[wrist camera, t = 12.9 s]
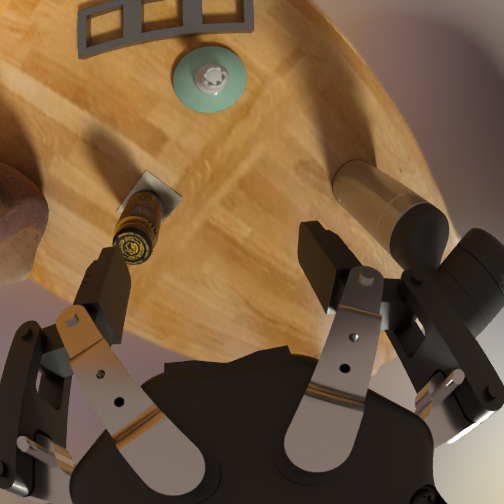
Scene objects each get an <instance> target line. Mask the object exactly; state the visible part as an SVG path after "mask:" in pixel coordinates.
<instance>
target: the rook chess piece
mask: <svg viewBox="0 0 504 504" xmlns="http://www.w3.org/2000/svg"><path fill="white" fill-rule="evenodd" d="M228 79H229V73H228V71H227V69H226V68H225V67H223V66H222V65H219V64H207V65H205V66H203V67H201V68H200V69H199V70H198V71H197V72H196V74H195V77H194V81H195V85H196V87H197V88H198V90H200V91H201V92H203V93H206V94H215V93H217V92H219V91H221V90H222V89H223V88H224V87H225V86H226V84H227V82H228Z"/></svg>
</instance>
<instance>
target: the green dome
mask: <svg viewBox="0 0 504 504" xmlns="http://www.w3.org/2000/svg"><path fill="white" fill-rule="evenodd" d="M207 64H219V65H222V66H223V67H225V68H226V69H227V71H228V73H229V79H228V82H227V84H226V86H225V87H224V88H223V89H222V90H221V91H219V92H217V93H215V94H206V93H203V92H201V91H200V90H198V88H197V87H196V85H195V81H194V77H195V74H196V72H197V71H198V70H199V69H200V68H201V67H203V66H205V65H207ZM246 80H247V75H246V70H245V67H244V64H243V63H242V61H241V60H240V58H239V57H238V56H237V55H236V54H234V53H233V52H232V51H230V50H228V49H226V48H223V47H219V46H205V47H200V48H197V49H195V50H193V51H191V52H189V53H188V54H187V55H185V56H184V57H183V58H182V59H181V61H180V62H179V63H178V65H177V67H176V69H175V72H174V76H173V86H174V90H175V93H176V95H177V97H178V98H179V100H180V101H181V102H182V103H183V104H184V105H186V106H187V107H189V108H190V109H192V110H195V111H198V112H204V113H213V112H218V111H221V110H224V109H226V108H228V107H230V106H231V105H233V104H234V103H235V102H236V101H237V100H238V99H239V98H240V96H241V95H242V93H243V91H244V89H245V86H246Z"/></svg>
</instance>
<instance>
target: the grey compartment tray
mask: <svg viewBox="0 0 504 504" xmlns="http://www.w3.org/2000/svg"><path fill="white" fill-rule="evenodd" d="M157 1H163V0H112V1H109V2H106V3H102V4H99V5H96V6H93V7H90V8H87V9H84V10H82V11H79V12H78V58H79V59H87V58H90V57H93V56H96V55H99V54H102V53H106V52H109V51H113V50H117V49H121V48H125V47H129V46H133V45H138V44H143V43H147V42H153V41H158V40H164V39H171V38H178V37H186V36H195V35H207V34H223V33H252V32H253V31H254V9H253V0H241V6H242V23H213V24H202V0H183V26H181V27H173V28H166V29H160V30H155V31H149V32H144V4H146V3H151V2H157ZM120 9H123V37H122V38H118V39H115V40H111V41H107V42H104V43H101V44H97V45H94V46H91V18H93V17H96V16H99V15H103V14H106V13H109V12H113V11H116V10H120Z"/></svg>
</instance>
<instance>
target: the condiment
mask: <svg viewBox="0 0 504 504" xmlns="http://www.w3.org/2000/svg"><path fill="white" fill-rule="evenodd" d="M182 199H183V198H182V197H181V196H179V195H178V194H177V193H176V192H174V191H173V190H172V189H171V188H169V187H168V186H167V185H165V184H164V183H163V182H162V181H160V180H159V179H157V178H156V177H155V176H153V175H152V174H150V173H149V172H148V171H146V172H145V173H144V174H143V176H142V177H141V178H140V180H139V181H138V182H137V184H136V185H135V186H134V188H133V189H132V190H131V192H130V193H129V194H128V196H127V197H126V199H125V200H124V201H123V203H122V204H121V206H120V207H119V209H118V210H117V212H119V213H120V214H122V215H121V216H120V219H119V220H118V222H117V225H116V227H115V233H114V238H113V243H112V244H113V246H120V248H121V250H122V253H123V256H124V259H125V262H126V263H127V264H131V265H136V264H141V263H143V262H145V261H147V260H148V258H149V257H150V256H151V253H152V252H153V250H152V249H153V248H154V246H155V245H156V243H157V240H158V235H159V229H160V225H161V223H162V222H163V221H164V220H165V219H166V218H167V216H168V215H169V214H170V213H171V212H172V211H173V209H174V208H175V207H176V206H177V205H178V204H179V203H180V202H181V200H182Z"/></svg>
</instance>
